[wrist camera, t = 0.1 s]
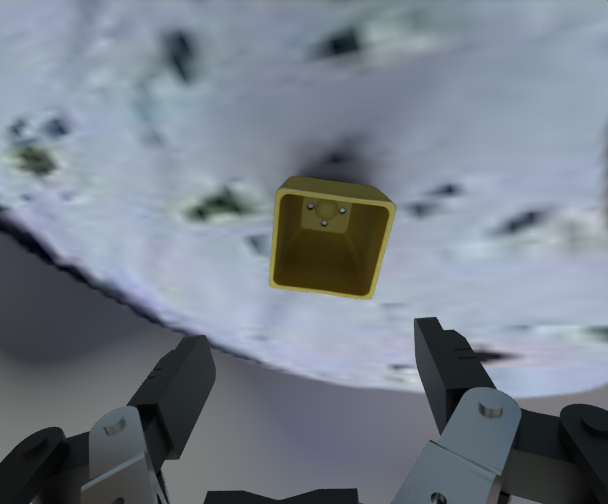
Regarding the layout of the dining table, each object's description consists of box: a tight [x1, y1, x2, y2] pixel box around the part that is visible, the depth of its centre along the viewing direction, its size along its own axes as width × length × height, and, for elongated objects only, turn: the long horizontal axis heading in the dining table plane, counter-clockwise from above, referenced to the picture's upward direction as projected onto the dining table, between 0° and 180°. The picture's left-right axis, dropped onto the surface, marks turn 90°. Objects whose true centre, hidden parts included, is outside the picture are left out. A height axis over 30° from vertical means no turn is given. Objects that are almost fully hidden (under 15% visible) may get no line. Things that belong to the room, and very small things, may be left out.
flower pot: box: [269, 176, 396, 300], centre depth 30 cm, size 9×9×9 cm
